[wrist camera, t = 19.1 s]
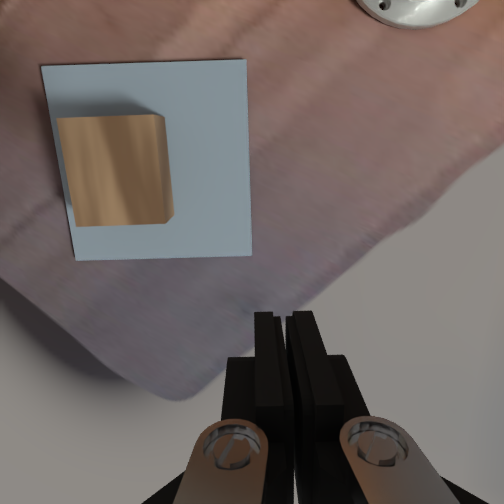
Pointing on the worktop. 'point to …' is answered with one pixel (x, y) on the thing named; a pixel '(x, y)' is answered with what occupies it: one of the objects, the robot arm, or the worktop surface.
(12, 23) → the worktop surface
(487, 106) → the worktop surface
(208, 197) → the rubber mat
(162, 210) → the wooden block
